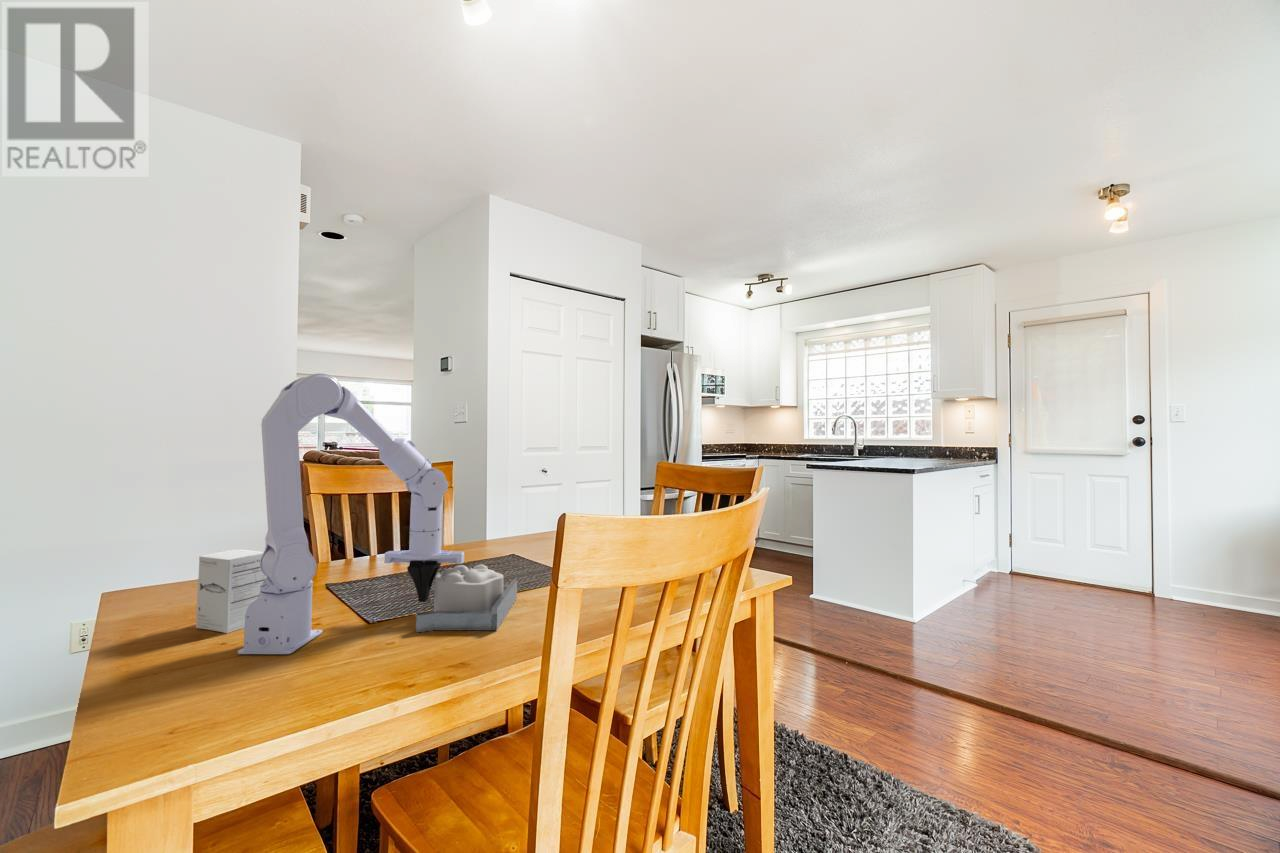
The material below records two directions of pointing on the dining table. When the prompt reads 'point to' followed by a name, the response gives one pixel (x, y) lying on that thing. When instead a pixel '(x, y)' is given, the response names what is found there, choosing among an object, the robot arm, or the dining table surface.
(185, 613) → the dining table surface
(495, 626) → the bracket
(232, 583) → the supplement box
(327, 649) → the dining table surface
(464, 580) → the lumpy-topped squat cylinder
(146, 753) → the dining table surface
